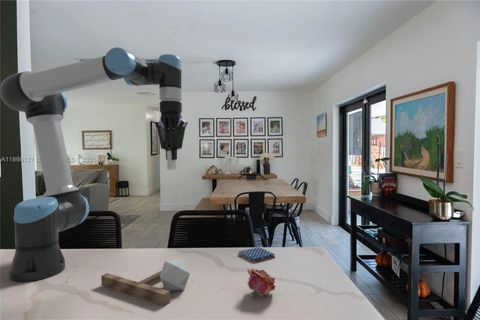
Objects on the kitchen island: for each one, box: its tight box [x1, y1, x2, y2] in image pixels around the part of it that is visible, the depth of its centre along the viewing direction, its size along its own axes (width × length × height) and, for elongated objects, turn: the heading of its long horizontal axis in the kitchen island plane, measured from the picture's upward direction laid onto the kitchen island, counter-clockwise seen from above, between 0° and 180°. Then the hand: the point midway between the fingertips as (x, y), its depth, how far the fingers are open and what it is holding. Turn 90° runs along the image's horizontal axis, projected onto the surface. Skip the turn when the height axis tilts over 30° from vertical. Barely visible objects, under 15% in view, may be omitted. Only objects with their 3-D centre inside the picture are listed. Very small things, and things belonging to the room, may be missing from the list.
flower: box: [246, 267, 276, 299], centre depth 82 cm, size 9×9×7 cm
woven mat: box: [237, 246, 276, 264], centre depth 112 cm, size 10×11×2 cm
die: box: [160, 258, 191, 292], centre depth 87 cm, size 8×9×10 cm
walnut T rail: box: [101, 270, 171, 307], centre depth 90 cm, size 24×16×3 cm, turn 61°
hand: (171, 169), depth 107 cm, fingers closed
